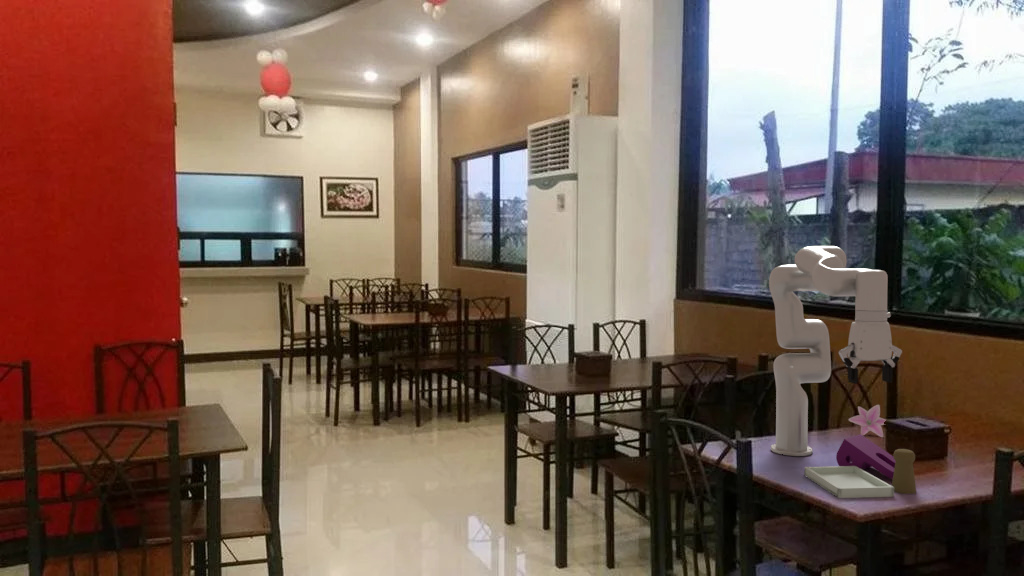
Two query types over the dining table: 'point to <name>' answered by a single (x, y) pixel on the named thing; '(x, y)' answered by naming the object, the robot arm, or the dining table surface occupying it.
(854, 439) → the mounting bracket
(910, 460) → the cork
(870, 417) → the lily
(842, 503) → the dining table surface
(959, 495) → the dining table surface
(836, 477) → the tray
